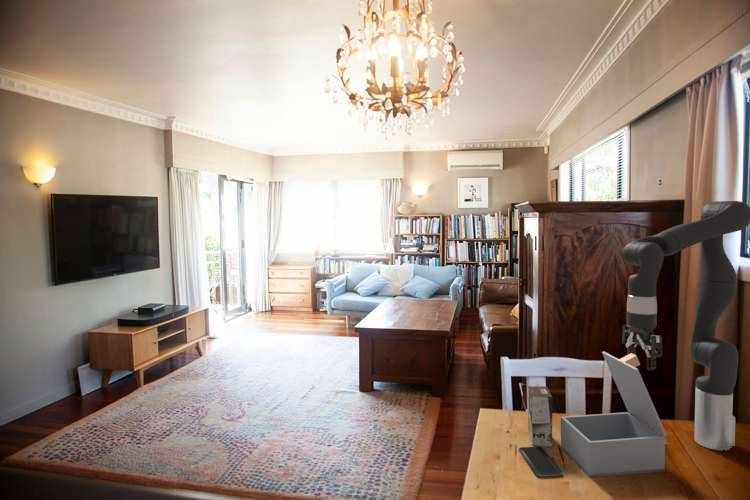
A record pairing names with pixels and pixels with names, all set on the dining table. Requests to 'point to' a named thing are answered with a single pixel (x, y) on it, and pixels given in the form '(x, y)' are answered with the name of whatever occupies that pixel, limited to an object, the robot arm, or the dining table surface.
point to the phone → (540, 462)
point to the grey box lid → (633, 389)
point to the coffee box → (540, 415)
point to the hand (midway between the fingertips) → (640, 364)
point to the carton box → (612, 444)
